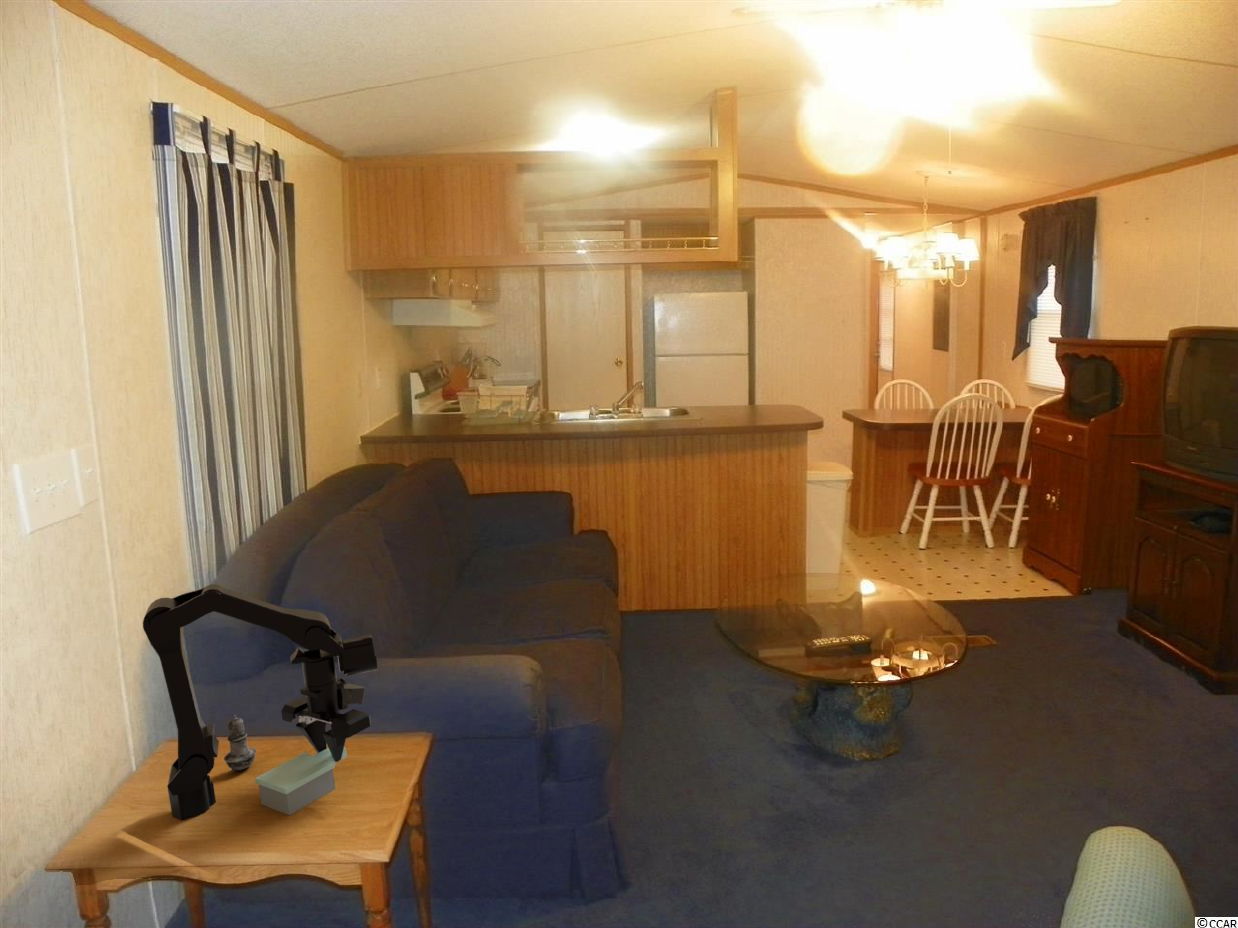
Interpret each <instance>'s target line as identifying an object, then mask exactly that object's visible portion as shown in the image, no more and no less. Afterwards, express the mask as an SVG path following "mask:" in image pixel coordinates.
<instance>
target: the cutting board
mask: <svg viewBox="0 0 1238 928" xmlns="http://www.w3.org/2000/svg"><path fill="white" fill-rule="evenodd" d="M346 758H348V753H347V747H346V746H344V749H343V753H342V757H341V760H340V761H343V760H344V759H346ZM340 761H338V762H335V760H334V759H333V757H332V755H331V752H330V750H329V748H328V747H327V749H325V750H323V751H321V752H319V753H316V754H314V755H313V754H310V753H307V752H301V754H298V755H297V756H295V757H293V758H290V759H289V760H287V761H285V762H283V763H281V764H279V765H278V766H275V767H274V768H272V769H270V770H268V771H266V772H264V773H262V774H260V775H258V776H256V777H255V779H254V780H255V784H257V785H258V786H259V785H262V786H265V787H268V788H270V789H273V790H276V791H278V792H281V793H284V794H288V793H290V792H291V791H293V790H295V789H297V788H298V787H300V786H302V785H304V784H306V783H307V782H309V781H311V780H313V779H315V778H316V777H318V776H320V775H322V774H324V773H325V772H327V771H329V770H331V769H333V770H334V769H335V767H336V764H337V763H339V762H340Z"/></svg>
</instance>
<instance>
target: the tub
mask: <svg viewBox="0 0 1238 928" xmlns="http://www.w3.org/2000/svg"><path fill="white" fill-rule="evenodd" d="M334 776H335V775H334V768H333V769H331V770H329V771H327V772H325V773H324V774H322V775H320V776H318V777H316V778H315V779H313V780H311V781H309V782H307V783H306V784H304V785H302V786H300V787H298V788H297V789H295V790H293V791H291V792H290V793H288V794H284V793H281V792H278V791H276V790H273V789H270V788H268V787H265V786H262V785H259V784H258V790H259V797H260V802H261V803H260V804H261V805H262V806H264V807H267V808H270V809H272V810H274V811H277V812H279V813H283V814H285V815H287V816H291V815H294V813H295V814H296V813H297V812H298V811H300V810H302V809H303V808H306V807H307V806H309V805H311V804H312V803H314V802H316V801H317V800H319V799H321V798H323V797H324V796H326V795H328V794H329V793H331V792H333V791H334V790H336V783H335V777H334Z"/></svg>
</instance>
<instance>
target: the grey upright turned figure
mask: <svg viewBox="0 0 1238 928" xmlns="http://www.w3.org/2000/svg"><path fill="white" fill-rule="evenodd" d="M227 730H228V737H227V741H229V747H230V750H229V752H228V753H227V754H226V755H224V758H223V760H224V762H226V765H227V766H228V768H230V769H231V770H230V771H229V772H228V773H227V776H229V775H232V774H233V773H235V772H242V771H245V770H247V769H248V768H249V767H250V766H251V765H252V764H253V763H254V762H255V757H256V754H257V750H256V749H255V748H254V747H249V744H248V741H247V736H248V733H247V732H246V731H245V725H244V720H243V719H242V718H241V717H237V715H236V714H233V715H232V718H231V719H230V720H228V721H227Z"/></svg>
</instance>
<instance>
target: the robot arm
mask: <svg viewBox="0 0 1238 928" xmlns="http://www.w3.org/2000/svg"><path fill="white" fill-rule="evenodd" d="M214 612H215V613H217V614H221V615H224V616H226V617H227V616H228V617H230V618H233V619H237V620H240V621H242V622H246V623H249V624H253V625H254V626H258V627H262V628H265V629H267V630H270V631H274V632H277V633H279V634H280V635H282V636H283V637H285V638H286V639H288V640H289V641H290V642H292V643H294V644H296V645H298V646H297V647H296V649H295V650H294V652H293V653H292V654H291V655H290V663H291V664H292V665H299V664H301V665H302V673H303V683H304V687H302V688H300V689H299V690H300V695H301V697H298V698H296V699H294V700H291V701H290V702H287V703H286V704H284V705H283V707H282V709H281V711H280V712H281V717H282V721H285V722H289V723H293V722H294V721H296V719H297V718H298V723H296V724H295V727H296V729H298V730H300V732H301V733H302V735H304V737H305V738H306V739H307V741H308V742H309V743H310V745H311V746H312V747H313V748H314V750H315V752H316V754H318V753H319V752H321V751H323V750H325V749H327V748H329V750H330V752H331V755H332V757H333V759H334V760H335V762H337V763H339V762H340V760H341V757H342V753H343V749H344V747H345V744H346V740H347V739H349V738H352V737H353V736H355V735H357V734H358V733H360V732H362V731H365V730H366V729H368V728H369V727H371V725H372V724H371V715H370V714H369V713H367V712H365V711H361V710H357V709H354V708H352V709H351V710H348V711H347V712H344V713H341V711H345V710H346V709H348V708H349V705H354V704H356V705H357V704H358V705H363V704H364V700H365V693H366V687H365V686H361V685H358V684H354V683H353V684H352V683H347V682H346V680H345V678H342V677H337V670H336V661H335V657H337V662H338V669H339V672H340V673H342V672H343V675H346V676H347V677H349V676H354V675H358V674H364V673H368V672H375V671H378V660H377V656H376V655H377V654H376V653H375V648H374V643H373V638H372V635H371V634H370V633H369V634H364V635H361V636H359V637H354V638H347V639H343V640H342V637H341V635H339V633H338V632H336V631H335V630H334V628H332V627H331V624H330V622H329V619H328V616H326V614H324V613H322V612H320V611H316V610H315V611H314V610H310V609H302V608H287V607H282V606H280V605H276V604H272V603H269V602H266V601H264V600H261V599H258V598H255V597H252V596H249V595H246V594H242V593H239V592H236V591H233V590H231V589H227V588H225V587H222V586H221V585H220V584H216V583H213V584H209V585H206V586H205V587H202V588H199V589H196V590H195V589H194V590H192V591H189V592H184V593H183V594H179V595H177V596H174V597H172V598H171V597H160V598H157V599H155V600H154V601H153V602H151V603H150V605H149V606H148V607H147V610H146V611H145V614H144V617H143V620H142V628H143V631H144V633H145V635H146V638H147V640H148V641H149V644H150V646H151V647H152V648H153V650H154V651H155V653H156V655H158V658H159V660H160V661H159V662H160V664H161V668H162V673H163V676H164V680H165V684H166V688H167V692H168V697H169V700H170V703H171V707H172V708H171V709H172V712H173V716H174V720H175V724H176V728H177V758H176V759H175V761H174V762H173V763H172V764H171V766H170V767H171V768H170V772H169V777H168V781H167V782H168V783H167V786H166V787H167V792H168V799H169V804H170V812H171V816H172V818H174V819H176V820H179V821H185V820H187V819H192V818H197V817H199V816H201V815H203V814H205V813H206V812H208V811H209V810H210V808H211V807H212V806H213V805H215V804H216V803H217V799H216V793H215V786H214V782H213V781H212V780H211V776H210V775H209V774H210V773H211V771H212V770H213V769H214V765H215V761H216V760H215V758H218V754H219V746H220V745H219V744H220V741H219V739H218V738H217V736H216V734H215V733H216V732H215V723H214V722H212V723H210V724H208V725H206V724H205V722H204V720H203V719H202V717H201V713H200V709H199V705H198V702H197V701H198V700H197V697H196V692H195V688H194V685H193V681H192V676H191V673H190V669H189V664H188V661H187V660H188V659H187V657H186V653H185V652H186V651H185V648H184V647H185V646H184V627H185V626H187V625H190V624H192V623H194V622H195V621H197V620H199V619H201V618H202V617H204V616H206V615H209V614H211V613H214ZM301 647H302V648H301ZM327 724H330V729H329V730H327V731H326V726H327ZM338 761H339V762H338ZM341 761H342V760H341Z"/></svg>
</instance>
